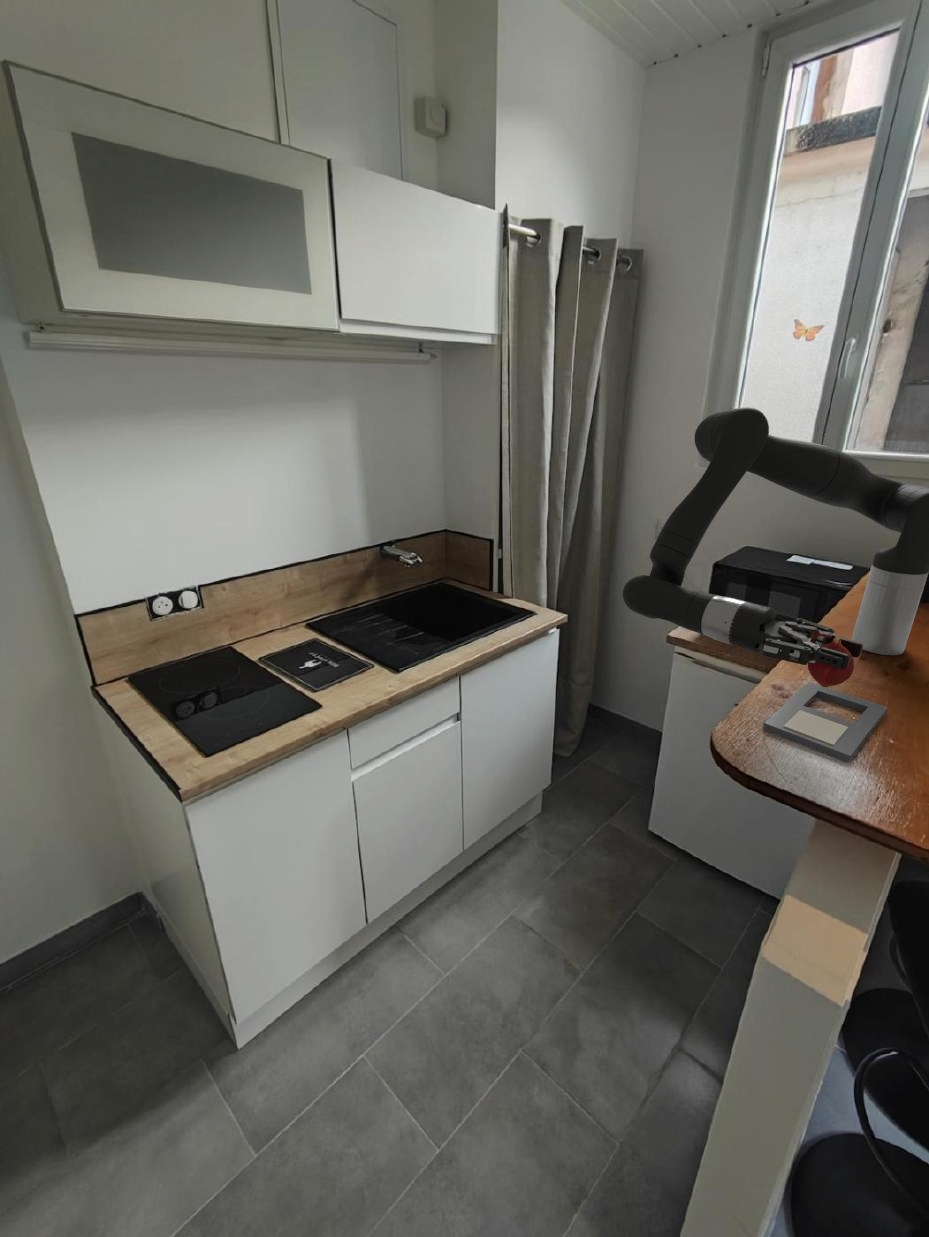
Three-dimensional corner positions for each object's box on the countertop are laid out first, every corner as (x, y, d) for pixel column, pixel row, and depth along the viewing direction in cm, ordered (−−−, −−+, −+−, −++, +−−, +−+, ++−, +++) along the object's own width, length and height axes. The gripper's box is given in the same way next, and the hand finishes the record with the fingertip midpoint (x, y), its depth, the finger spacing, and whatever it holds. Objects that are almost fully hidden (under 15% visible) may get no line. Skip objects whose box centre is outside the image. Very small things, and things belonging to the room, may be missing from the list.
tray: (807, 687, 103) (809, 681, 103) (885, 713, 95) (888, 706, 94) (762, 729, 91) (764, 721, 90) (848, 762, 82) (850, 754, 82)
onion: (853, 698, 83) (868, 649, 80) (810, 694, 84) (823, 645, 81) (837, 679, 88) (851, 632, 85) (797, 675, 89) (809, 629, 86)
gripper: (722, 612, 88) (846, 647, 76) (760, 592, 97) (876, 620, 85) (713, 656, 91) (832, 696, 79) (751, 632, 100) (862, 665, 88)
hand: (854, 656), depth 82 cm, fingers closed on onion, 5 cm apart
